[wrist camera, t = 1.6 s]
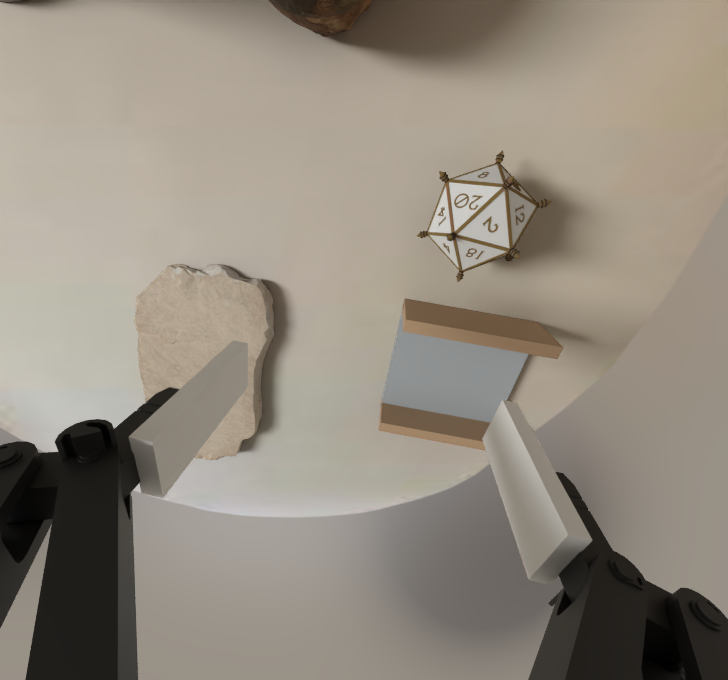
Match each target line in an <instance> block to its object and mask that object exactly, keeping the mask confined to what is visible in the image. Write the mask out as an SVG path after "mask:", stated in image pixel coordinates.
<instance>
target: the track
mask: <svg viewBox="0 0 728 680" xmlns="http://www.w3.org/2000/svg"><path fill="white" fill-rule="evenodd" d="M562 350H563V347H562V346H561V345H560V344H559V343H558V342H557V341H556V340H555V339H554V338H553V337H552V336H551V335H550V334H549V333H548V332H547V331H546V330H545V329H544V328H543V327H542V326H541V325H540V324H539V323H538V322H533V321H527V320H522V319H516V318H511V317H505V316H499V315H494V314H488V313H482V312H477V311H471V310H465V309H460V308H454V307H448V306H443V305H437V304H431V303H426V302H420V301H414V300H409V299H405V300H404V304H403V308H402V313H401V317H400V322H399V326H398V331H397V335H396V340H395V344H394V348H393V353H392V357H391V362H390V366H389V371H388V375H387V380H386V384H385V388H384V393H383V397H382V402H381V409H380V422H379V431H384V432H389V433H395V434H400V435H405V436H411V437H416V438H422V439H427V440H432V441H438V442H443V443H449V444H454V445H459V446H465V447H470V448H475V449H481V450H486V449H485V446H484V443H483V440H482V438H483V436H484V434H485V433H486V431H487V429H488V427H489V425H490V423H491V421H492V419H493V417H494V415H495V413H496V411H497V409H498V407H499V405H500V404H501V402H502V400H506V401H507V399H508V397H509V395H510V393H511V390H512V388H513V386H514V384H515V382H516V380H517V378H518V376H519V374H520V371H521V369H522V367H523V365H524V363H525V361H526V359H527V357H528V355H529V354H531V355H537V356H542V357H548V358H554V359H558V357H559V355H560V353H561V352H562Z"/></svg>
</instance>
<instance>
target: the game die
mask: <svg viewBox="0 0 728 680" xmlns="http://www.w3.org/2000/svg"><path fill="white" fill-rule="evenodd" d="M503 158H504V155H503V150H502V151H501V152H500V153H499V154H498V155H497V158H496V159H495V160H496V163H495V164H492V165H490V166H487V167H484V168H481V169H478V170H475V171H472V172H469V173H466V174H463V175H460V176H457V177H454V178H451V179H449V178H448V175H447V174H446V172H441V171H439V173H440V179H442V181H444V182H445V184H444V187H443V190H442V193H441V195H440V198H439V201H438V203H437V206H436V209H435V211H434V214H433V217H432V220H431V222H430V225H429V228H428V230H427V231H423V232H421V231H420V233H419V234H418V235H417V236H418V237H421V238H422V237H425V236H429V237H430V238H431V239H432V240H433V242H434V243H435V244H436V245H437V246H438V247H439V248H440V249H441V251H442V252H443V253H444V254H445V255H446V256H447V257H448V258H449V259H450V261H451V262H452V263H453V264H454V265H455V266H456V267H457V268H458V270H459V273H458V275H457V276H456V277H457V281H458V282H459V281H460V280H461V279H463V278H462V277H463V276H464V275H463V272H464V271H467V270H470V269H472V268H475V267H478V266H480V265H483V264H486V263H488V262H491V261H494V260H496V259H499V258H502V257H504V256H505V259H506V261H512V258H520V257H519V251H517V249H516V250H515V249H514V248H515V246H516V244H517V243H518V241H519V239H520V237H521V236H522V234H523V232H524V230H525V229H526V227H527V225H528V223H529V222H530V220H531V218H532V216H533V215H534V213H535V211H536V209H537V208H538V207H541V208H543V207H546V206H547V205H548V204H549V203H551V202H552V201H548V200H546V199H545V200H543V201H542V200H541V201H540V202H539V203H537V202H536V201H535V200H534V199H533V198H532V197H531V196H530V195H529V194H528V193H527V192H526V191H525V189H524V188H523V187H522V186H521V185H520V184H519V183H518V182H517V181H516V180H515V179H514V176H513V177H512V176H511V175H510V174H509V173H508V171H507V170H506V169H505V168H504V167H503V166H502V165H501V164H500V163H501V162H502V161H503ZM509 253H510V254H509Z"/></svg>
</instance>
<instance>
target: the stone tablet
mask: <svg viewBox="0 0 728 680" xmlns="http://www.w3.org/2000/svg"><path fill="white" fill-rule="evenodd" d="M273 301H274V300H273V297H272V295H271V292H270V290H268V289H267V287H266V286H265V285H264V284H263V282H262V280H261V279H256V278H255V279H246V278H243V277H240V276H239V275H238V274H237V273H236V272H235V271H233V270H232V269H230V268H229V267H226V266H224V265H208V266H207V268H205V269H204V270H195V269H192V268H189V267H188V266H186V265H182V264H175V265H171V266H168V267H167V268H165V269H164V270H163V271H162V272H161V273H160V274H159V275H158V277H157V278H156V279H155V280H154V281H153V282H152V283H151V284H150V285H149V286H148V287H147V288H146V289H145V290H144V291H143V292H142V293H141V294H140V295H138V296H137V297H136V316H135V319H134V322H135V325H136V330H137V331H138V358H139V369H140V374H141V379H142V382H143V388H144V392H145V396H146V398H145V400H146V402H147V401H148V400H149V399H150V398H151V397H152V396H154V395H155V394H156V393H158V392H160V391H162V390H164V389H167V388H169V387H172V388H177V389H181V388H182V387H183V386H184V385H185V384H186V383H187V382H189V381H190V380H191V379H192V378H193V377H194V376H195V375H196V374H197V373H198V372H199V371H200V370H202V369H203V368H204V367H205V366H206V365H207V364H208V363H209V362H210V361H211V360H212V359H213V358H215V357H216V356H217V355H218V354H219V353H220V352H221V351H222V350H223V349H224V348H225V347H226V346H228V345H229V344H230V343H231V342H232V341H233V340H234V341H239V342H243V343H248V381H247V388H246V390H245V391H244V392H243V393H242V395H241V396H240V397H239V399H238V400H237V401H236V403H235V404H234V405H233V407H232V408H231V409H230V411H229V412H228V413H227V415H226V416H225V417H224V418H223V420H222V421H221V422H220V424H219V425H218V426H217V428H216V429H215V430H214V432H213V433H212V434H211V436H210V437H209V438H208V440H207V441H206V442H205V443H204V445H203V446H202V447H201V449H200V450H199V451H198V453H197V454H196V455H195V458H204V459H208V460H217V459H219V458H221V457H224V456H235V455H236V454H237V453H238V452H239V450H240V449H241V446H242V443H243V440H244V439H247V438H251V436H252V435H254V434H255V433H256V432H257V430H258V428H259V426H260V419H261V416H262V402H263V401H262V398H261V395H262V394H261V386H260V385H261V383H262V382H261V378H262V368H263V361H264V358H265V356H266V353H267V350H268V348H269V345H270V343H271V341H272V339H273V337H274V335H275V333H274V329H273V328H274V312H273V308H272V305H273Z"/></svg>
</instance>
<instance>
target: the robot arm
mask: <svg viewBox="0 0 728 680" xmlns="http://www.w3.org/2000/svg"><path fill="white" fill-rule="evenodd" d="M0 1H4V2H16V1H22V0H0ZM247 381H248V343H243V342H239V341H234V340H233V341H232V342H231V343H230V344H229V345H228V346H226V347H225V348H224V349H223V350H222V351H221V352H220V353H219V354H218V355H217V356H216V357H215V358H213V359H212V360H211V361H210V362H209V363H208V364H207V365H206V366H205V367H204V368H203V369H202V370H200V371H199V372H198V373H197V374H196V375H195V376H194V377H193V378H192V379H191V380H190V381H189V382H187V383H186V384H185V385H184V386H183V387H182V388H181V389H177V388H172V387H169V388H167V389H164V390H162V391H160V392H158V393H156V394H155V395H154V396H152V397H151V398H150V399H149V400H148V401H147V402H146V404H143V405H142V406H141V407H139V408H138V410H137V411H135V412H134V413H132V414H131V415H130V416H129V417H128V418H127V419H125V420H124V421H123V422H122V423H121V424H119V425H118V426H117V427H116V428H115V429H114V428H113V426H112V423H110V422H108V421H106V420H100V419H95V420H87V421H83V422H80V423H77V424H74V425H72V426H71V427H69V428H67V429H65V430H64V431H63V432H62V433H60V434H59V435H58V437H57V439H56V441H55V444H56V446H57V449H58V451H59V452H48V453H38V451H37V448H36V447H35V445H34V444H32V443H30V442H13V443H8V444H4V445H1V446H0V627H1V626H2V624H3V622H4V620H5V617H6V616H7V613H8V611H9V609H10V607H11V605H12V603H13V601H14V599H15V597H16V595H17V593H18V591H19V589H20V587H21V585H22V583H23V581H24V579H25V577H26V575H27V573H28V571H29V569H30V566H31V564H32V562H33V560H34V558H35V556H36V554H37V552H38V550H39V548H40V546H41V544H42V542H43V540H44V538H45V536H46V534H47V532H48V530H49V528H50V526H51V524H52V527H51V533H50V538H49V544H48V551H47V556H46V563H45V568H44V574H43V580H42V586H41V592H40V597H39V604H38V609H37V615H36V621H35V627H34V633H33V639H32V645H31V651H30V657H29V663H28V668H27V674H26V680H138V665H137V637H136V606H135V577H134V547H133V521H132V520H133V519H132V518H133V517H132V496H131V492H132V490H133V489H134V488H135V487H136V486H137V485H138V484H139V483H140V487H141V492H142V493H143V494H148V495H152V496H157V497H161V498H163V497H164V496H165V495H166V493H167V492H168V491H169V490H170V488H171V487H172V486H173V484H174V483H175V482H176V480H177V479H178V478H179V476H180V475H181V474H182V472H183V471H184V470H185V468H186V467H187V466H188V465H189V463H190V462H191V461H192V459H193V458H194V457H195V455H196V454H197V453H198V451H199V450H200V449H201V447H202V446H203V445H204V443H205V442H206V441H207V440H208V438H209V437H210V436H211V434H212V433H213V432H214V430H215V429H216V428H217V426H218V425H219V424H220V422H221V421H222V420H223V418H224V417H225V416H226V415H227V413H228V412H229V411H230V409H231V408H232V407H233V405H234V404H235V403H236V401H237V400H238V399H239V397H240V396H241V395H242V393H243V392H244V391H245V390H246V388H247ZM482 440H483V443H484V446H485V449H486V452H487V455H488V458H489V461H490V464H491V467H492V470H493V473H494V476H495V479H496V482H497V485H498V488H499V491H500V494H501V498H502V500H503V503H504V507H505V509H506V513H507V515H508V518H509V521H510V525H511V528H512V531H513V534H514V537H515V540H516V543H517V546H518V549H519V552H520V555H521V558H522V561H523V564H524V567H525V570H526V573H527V576H528V579H529V580H532V581H537V582H541V583H546V584H551V583H552V582H553V581H554V580H555V579H556V578H557V577H558V576H559V577H560V579H561V582H562V584H563V586H564V588H563V589H562V590H561V591H560V592H559V593H558V594H557V595H556V596H555V597H554V598H553V599H552V600H551V601H550V602H549V604H550V605H551V606H553V605H554V604H555V606H554V609H553V612H552V614H551V617H550V620H549V623H548V626H547V629H546V631H545V634H544V637H543V640H542V643H541V645H540V648H539V651H538V654H537V657H536V660H535V662H534V666H533V668H532V671H531V674H530V677H529V679H528V680H728V619H727V618H726V617H725V616H724V614H723V613H722V612H721V611H720V610H719V609H718V608H717V607H716V606H715V605H714V604H713V603H712V602H710V601H709V600H708V599H706V598H705V597H704V596H702V595H701V594H699V593H697V592H695V591H693V590H691V589H688V588H680V589H679V590H677V591H676V592H675V593H673V594H671V593H669V592H667V591H665V590H663V589H662V588H659V587H658V586H656V585H654V584H652V583H650V582H648V581H646V580H645V579H644V577H643V575H642V574H641V573H640V572H639V570H638V569H637V568H636V567H635V566H634V565H633V564H632V563H631V562H630V561H629V560H628V559H626V558H625V557H624V556H622V555H620V554H618V553H617V552H615V551H613V550H612V548H611V547H610V545H609V544H608V542H607V540H606V538H605V537H604V535H603V533H602V531H601V530H600V528H599V527H598V525H597V523H596V521H595V520H594V518H593V516H592V515H591V513H590V512H589V511H588V508H587V506H586V504H585V503H584V501H583V500H582V497H581V496H580V494H579V492H578V491H577V489H576V487H575V486H574V484H573V483H572V482H571V481H570V480H569V479H568V478H567V477H566V476H565V475H564V474H563V473H559V472H555V471H554V469H553V467H552V466H551V464H550V462H549V460H548V458H547V456H546V454H545V453H544V451H543V449H542V447H541V445H540V444H539V442H538V440H537V438H536V436H535V434H534V433H533V431H532V429H531V427H530V425H529V423H528V422H527V420H526V418H525V416H524V414H523V413H522V411H521V409H520V407H519V405H518V403H515V402H510V401H506V400H502V402H501V404H500V405H499V407H498V409H497V411H496V413H495V415H494V417H493V419H492V421H491V423H490V425H489V427H488V429H487V431H486V433H485V434H484V436H483V438H482Z"/></svg>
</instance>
